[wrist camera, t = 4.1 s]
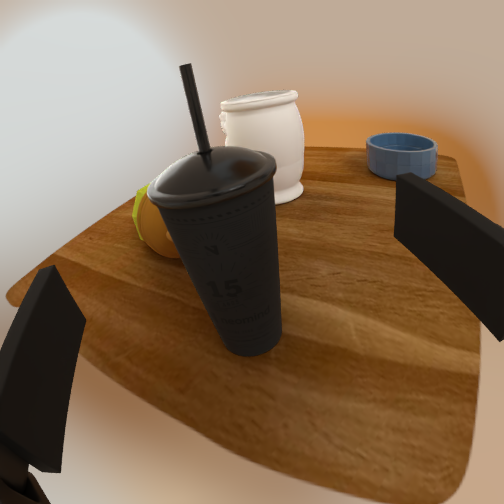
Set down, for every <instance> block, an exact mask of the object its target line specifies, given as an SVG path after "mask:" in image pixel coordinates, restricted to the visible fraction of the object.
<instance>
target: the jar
mask: <svg viewBox="0 0 504 504" xmlns="http://www.w3.org/2000/svg"><path fill="white" fill-rule="evenodd" d="M297 98H298V93H297V91H293V90H277V91H267V92H260V93H254V94H248V95H243V96H239V97H235V98H232V99H229V100H226V101H223V102H221V103H220V104H221V109H222V110H223V111H225V112H226V115H227V116H226V133H227V140H228V145H229V146H237V147H243V148H248V149H251V150H255V151H261V152H265V153H268V154H270V155H272V156H273V157H274V158H275V160H276V164H277V170H276V173H275V175H274V176H273V181H274V195H275V204H281V203H285V202H289V201H291V200H294V199H296V198H297V197H299V196H300V195H301V194H302V193H303V186H302V184H301V183H300V182H299V180H300V178H301V175H302V171H303V165H304V130H303V125H302V120H301V117H300V114H299V111H298V108H297V106H296V105H295V100H296V99H297Z"/></svg>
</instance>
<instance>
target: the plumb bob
mask: <svg viewBox="0 0 504 504" xmlns="http://www.w3.org/2000/svg"><path fill="white" fill-rule="evenodd" d="M149 185H150V184H148V185H147V186H145V187H143V188H141V189H140V190H138V191H137V194H136V199H135V204H134V209H133V214H132V217H133V220H134V223H135V226H136V229H137V231H138V234H139V237H140V239H141V240H143V241H145V243H146V244H147V245H148V246H150V247H151V248H152V249H153V250H154V251H155V252H157V253H158V254H160V255H162V256H165V257H168V258H181V257H180V255H179V253H178V251H177V249H176V247H175V245H174V243H173V241H172V238H171V236H170V234H169V232H168V230H167V228H166V225H165V223H164V221H163V219H162V217H161V214H160V212H159V210H158V208H157V206H155V205H153V204H152V203H151V202H150V200H149V198H148V195H147V188H148V186H149Z"/></svg>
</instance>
